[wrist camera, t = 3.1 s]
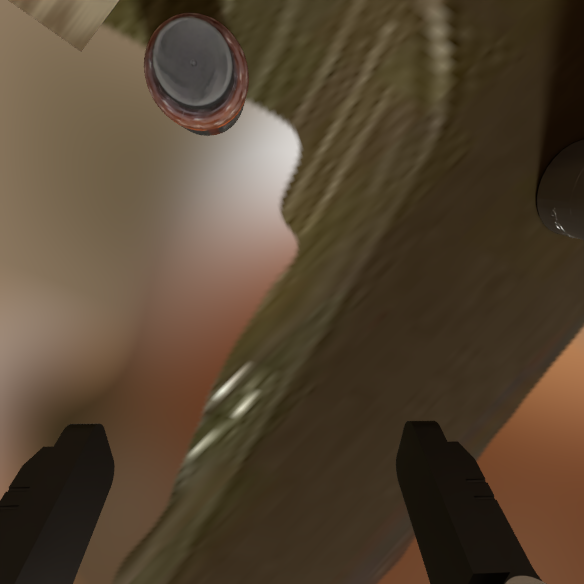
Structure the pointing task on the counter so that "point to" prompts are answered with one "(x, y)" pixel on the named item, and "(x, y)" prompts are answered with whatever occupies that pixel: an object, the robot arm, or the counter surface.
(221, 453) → the counter surface
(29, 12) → the small wooden stand
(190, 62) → the supplement bottle
